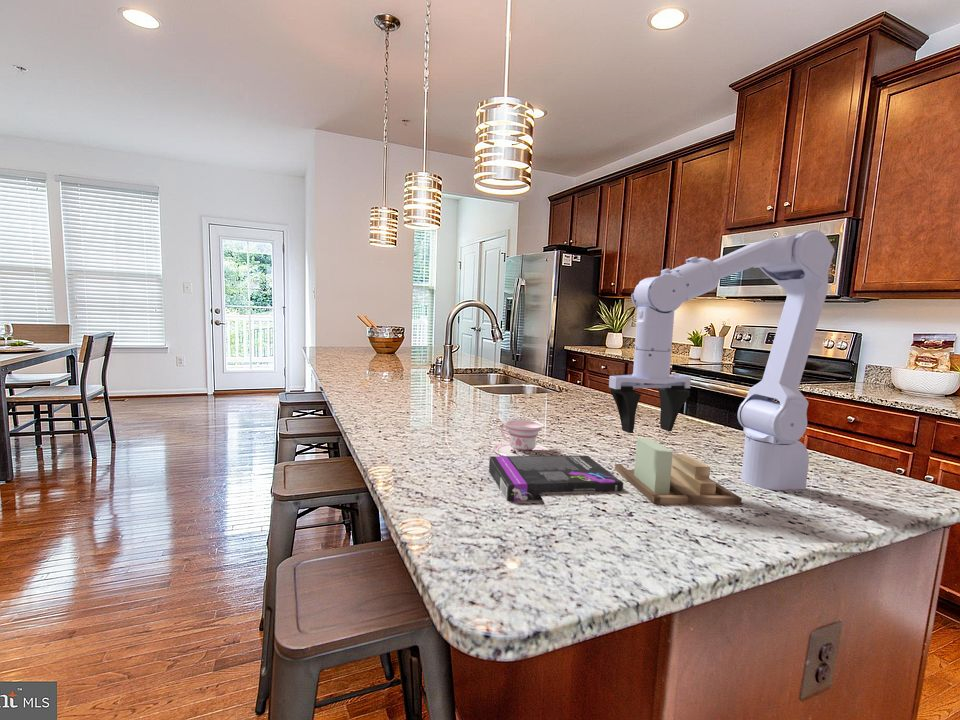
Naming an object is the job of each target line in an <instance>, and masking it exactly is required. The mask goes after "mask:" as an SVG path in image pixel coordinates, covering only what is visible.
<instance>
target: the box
mask: <svg viewBox="0 0 960 720" xmlns="http://www.w3.org/2000/svg"><path fill="white" fill-rule="evenodd" d="M488 461H489V463H488V464H489V466H488V472H489V474H490V475H491V477H492V479H493V480H494V482H495V483H496V485H497V487H498V488H499V489H500V491H501V493H502V495H503V496H504V498H505V499H506V501H508V502H510V501H511V502H512V501H513V502H514V501H515V502H516V501H537V500H538V501H539V500H540V501H542V500H543V498H542V496H541V494H567V493H569V494H570V493H571V494H573V493H574V494H575V493H594V492H595V493H601V492H602V493H603V492H605V493H606V492H623V491H624V481H623V480H620V479H619V478H618V477H616V476H615V475H614V474H612V473H611V472H610V471H608V470H607V469H606V468H605V467H603V466H602V465H601V464H600V463H598V462H597V461H595V460H594V459H592V458H591V456H589V455H521V456H520V455H518V456H501V455H499V456H489V459H488Z"/></svg>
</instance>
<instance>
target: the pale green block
mask: <svg viewBox="0 0 960 720" xmlns="http://www.w3.org/2000/svg"><path fill="white" fill-rule="evenodd" d="M635 445H636V446H635V456H634V457H635V458H634V469H633V470H634V476H635V477H637V478H638V479H639V480H640V481H641V482H643V483H644V484H645V485H646V486H647V487H649V488H650V489H651V490H652V491H653V492H655V493H656V494H669V491H670V479H671V467H672V455H673V454H674V452H673V451H672V450H671V449H670V448H668V447H666V446H664V445H663V444H661V443H660V442H657V441H656V440H654V439H652V438H651V437H650V438H649V437H648V438H647V437H643V438H642V437H640V438H639V437H636V443H635Z"/></svg>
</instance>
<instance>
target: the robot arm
mask: <svg viewBox="0 0 960 720" xmlns="http://www.w3.org/2000/svg"><path fill="white" fill-rule="evenodd" d="M834 254H835V248H834V246H833V245H832V243H831V242H830V240H829V239H828V237H827V235H826V234H825V233H823V232H822V231H821V230H817V229H809V230H805V231H804V232H801V233H800V232H799V233H794V234H789V235H785V236H780V237H769V238H767V239H764V240H760V241H755V242H752V243H749V244H747V245H745V246H743V247H740V248H739V249H736V250H734V251H732V252H729V253H727V254H724V255H723V256H720V257H719V258H716V259H713V260H711V259H709V258H706V257H699V258H698V256H692V257H689V258H687V259H685V263H683V264H682V265H680V266H676V267H674V268H672V269H670V267H669V268H664V269H662V270H660V275H659V276H651V277H646V278H643V279H641V280H640V281H639V282H638V283H637V284H636V286H635V287H634V290H633V293H631V295H630V296H631V297H630V299H631V302H632V305H633V306H634V307H635V309H636V322H635V325H636V327H635V342H634V354H633V355H634V357H633V368H632V369H633V371H632V374H622V375H609V378H608V379H609V381H608V388H610V394H611V396H612V398H613V400H614V402H615V406H616V408H617V411H618V414H619V418H620V424H621V430H622V431H623V432H625V433H627V434H633V433H634V430H635V421H636V414H637V413H636V412H637V409H638V405H639V402H640V401H639V400H640V398H641V396H642V394H641V393H639V392H636V391H635V389H657V392H658V395H659V396H658V397H659V401H660V416H659V418H660V419H659V424H660V425H659V426H660V429H661V430H662V431H663V430H664V431H667V432H672V431H673V429H674V425H675V424H676V423H675V422H676V419H677V418H678V415H679V413H680V411H681V409H682V407H683V405H684V404H685V402H686V401H687V400H688V399H689V397H690V396H691V395H690V394H691V391H690V390H689V389H691V381H692V380H691V379H692V377H691V376H687V375H676V374H674V375H672V374H670V373H671V363H672V348H673V347H672V345H673V332H674V323H675V322H674V321H675V311H677V310H678V309H679V308H680V307H681V306H682V304H683V303H686V302H687V301H690V300H693V299H695V298H697V297H699V296H701V295H705V294H707V293H710V292H712V291H714V290H715V289H716V288H717V287H718V286H719V282H720V280H721V279H724V278H727V277H729V276H733V275H735V274H737V273H740V272H742V271H743V272H744V271H746V270H749V269H751V268H754V269H757V268H759V269H760V270H761V271H762V272H763V273H764V274H765V275H766V276H767V277H768V278H770V279H771V280H772V281H773V282H774V283H776V284H777V285H778V286H779V287H780V288H782V289H783V291H784V292H785V293H786V299H785V302H784V305H783V308H782V312H781V315H780V318H779V321H778V326H777V328H776V333H775V335H774V339H773V342H772V345H771V348H770V353H769V356H768V360H767V362H766V365H765V369H764V372H763V375H762V379H761V380H760V381H759V382H758V383H756V384H754V385H753V386H751V387H750V388H749V389H748V392H747V395H746V397H745V398H744V400H743V401H742V402H741V403H740V404H739V407H738V410H737V420H738V423H739V424H740V426H741V427H742V428H743V432H742V434H745V437H744V447H743V456H742V466H741V475H740V476H741V477H740V480H741V481H742V482H743V483H745V484H747V485H749V486H753V487H755V488H756V487H757V488H760V489H764V490H772V491H785V490H806V489H807V481H808V473H809V471H808V470H809V464H810V463H809V461H810V459H809V458H810V457H809V452H808V449H807V446H806V445H805V444H804V443H803V442H801V441H800V439H801V438H802V437H803V436H804V434H805V432H806V430H807V428H808V415H807V412H808V407H809V401H808V400H807V398H805V396H804V394H803V393H802V392H801V391H800V389H799V387H800V384H801V380H802V377H803V374H804V370H805V367H806V364H807V360H808V357H809V354H810V353H809V352H810V350H811V347H812V344H813V340H814V337H815V333H816V330H817V327H818V324H819V321H820V316H821V315H822V314H821V313H822V310H823V308H824V307H823V306H824V305H825V302H826V298H827V293H828V290H829V270H830V267H831V263H832V260H833V259H834ZM776 400H777V401H778V402H777V401H776Z"/></svg>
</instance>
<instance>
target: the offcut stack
mask: <svg viewBox="0 0 960 720" xmlns="http://www.w3.org/2000/svg"><path fill="white" fill-rule="evenodd" d="M710 472H711V466H710V465H708V464H706V463H703V462H702V461H700V460H698V459H696V458H694V457H692V456H690V455H688V454H687V453H685V454H684V453H677V454H676V453H675V454H674V453H673V455H672V467H671V476H672V477H674V478H675V479H677V480H678V481H680V482H681V483H682V484H684V485H685V486H687V487H688V488H690V489H691V490H692V491H694V492H695V493H697V494H698V495H711V496H715V492H716V483H717V482H716V483H714V482H715V481H714V480H713V481H714V482H713V481H711V480H712V479H711V480H709V478H710V474H711V473H710Z"/></svg>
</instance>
